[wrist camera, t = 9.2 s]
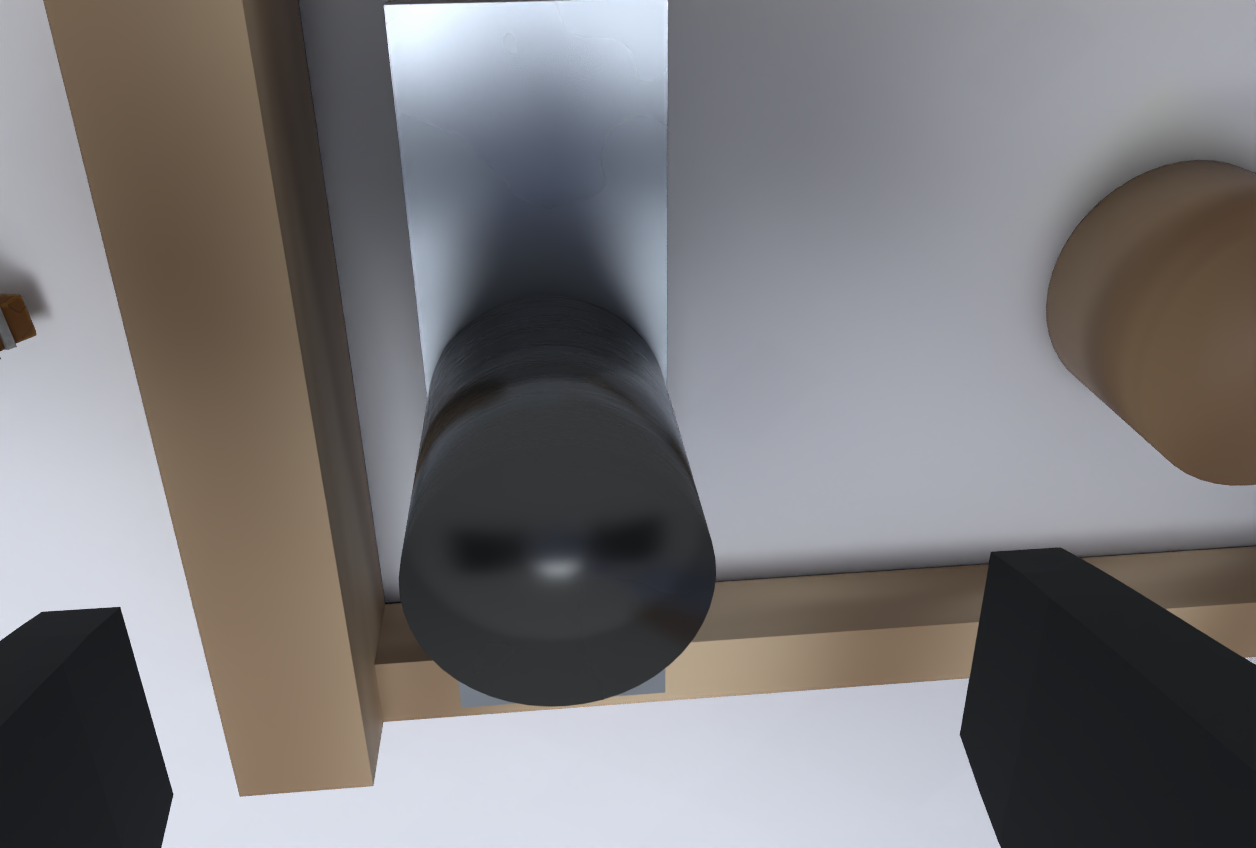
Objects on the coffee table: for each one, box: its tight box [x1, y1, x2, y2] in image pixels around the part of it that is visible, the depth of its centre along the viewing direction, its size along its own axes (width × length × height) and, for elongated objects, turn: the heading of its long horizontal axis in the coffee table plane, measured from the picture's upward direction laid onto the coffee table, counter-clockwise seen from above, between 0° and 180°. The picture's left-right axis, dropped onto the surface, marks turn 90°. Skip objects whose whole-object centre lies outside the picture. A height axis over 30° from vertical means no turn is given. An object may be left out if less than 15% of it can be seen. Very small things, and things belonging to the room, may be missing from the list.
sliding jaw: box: [384, 0, 716, 708], centre depth 13 cm, size 3×10×7 cm, turn 1°
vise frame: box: [43, 0, 1256, 796], centre depth 15 cm, size 21×13×3 cm, turn 91°
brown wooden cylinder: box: [1046, 160, 1256, 485], centre depth 16 cm, size 4×4×3 cm
